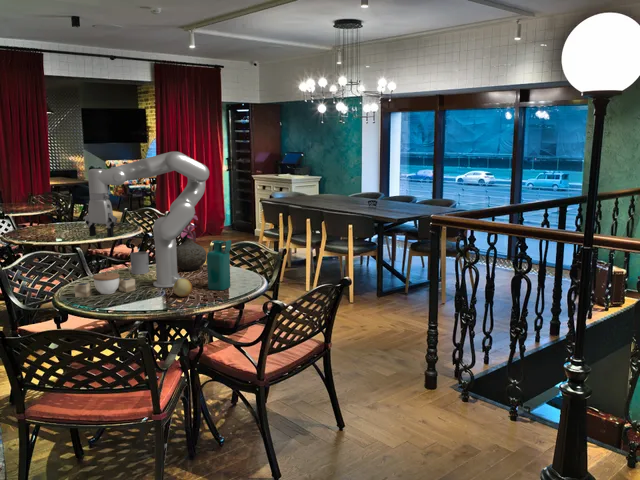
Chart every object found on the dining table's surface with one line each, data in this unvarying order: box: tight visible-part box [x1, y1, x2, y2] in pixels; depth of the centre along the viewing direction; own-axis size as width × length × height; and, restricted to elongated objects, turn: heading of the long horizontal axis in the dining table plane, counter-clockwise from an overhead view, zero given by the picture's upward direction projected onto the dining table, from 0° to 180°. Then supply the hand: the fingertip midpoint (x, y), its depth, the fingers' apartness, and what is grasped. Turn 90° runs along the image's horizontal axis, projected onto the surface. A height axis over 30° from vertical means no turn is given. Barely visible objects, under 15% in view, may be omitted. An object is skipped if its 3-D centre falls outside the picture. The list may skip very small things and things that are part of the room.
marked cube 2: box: [118, 277, 136, 293], centre depth 261 cm, size 5×5×5 cm
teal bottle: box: [206, 239, 232, 291], centre depth 262 cm, size 10×8×22 cm
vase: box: [176, 211, 207, 272], centre depth 302 cm, size 17×17×30 cm
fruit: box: [172, 278, 193, 298], centre depth 249 cm, size 8×8×8 cm
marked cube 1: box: [74, 282, 93, 298], centre depth 252 cm, size 5×5×5 cm
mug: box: [130, 251, 150, 275], centre depth 299 cm, size 12×9×10 cm
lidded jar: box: [93, 271, 120, 295], centre depth 256 cm, size 11×11×9 cm
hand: (101, 236), depth 256 cm, fingers open, 9 cm apart
